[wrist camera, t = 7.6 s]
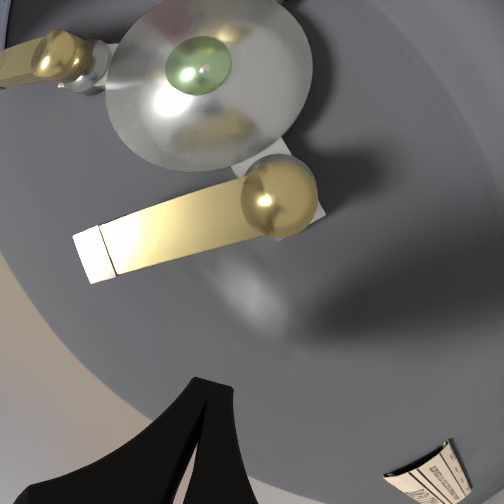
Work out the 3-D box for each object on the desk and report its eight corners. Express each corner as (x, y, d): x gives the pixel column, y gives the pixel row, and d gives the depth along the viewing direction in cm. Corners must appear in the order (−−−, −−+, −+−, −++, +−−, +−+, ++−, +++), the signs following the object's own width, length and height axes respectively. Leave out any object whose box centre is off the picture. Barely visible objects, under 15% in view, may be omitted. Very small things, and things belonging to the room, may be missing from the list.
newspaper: (469, 485, 19) (472, 494, 17) (425, 509, 21) (427, 518, 19) (445, 433, 15) (451, 448, 13) (369, 473, 17) (372, 489, 15)
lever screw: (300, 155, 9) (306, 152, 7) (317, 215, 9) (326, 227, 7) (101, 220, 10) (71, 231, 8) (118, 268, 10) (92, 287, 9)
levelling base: (64, 46, 9) (48, 39, 8) (297, -46, 7) (297, -63, 6) (119, 277, 12) (104, 289, 11) (392, 207, 10) (406, 213, 9)
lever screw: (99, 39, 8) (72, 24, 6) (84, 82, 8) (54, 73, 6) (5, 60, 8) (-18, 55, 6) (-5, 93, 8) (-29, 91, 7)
